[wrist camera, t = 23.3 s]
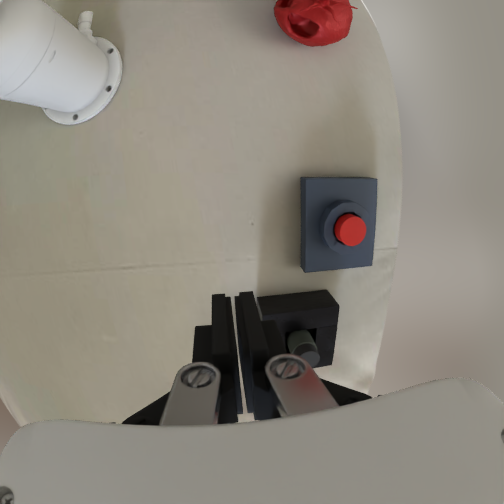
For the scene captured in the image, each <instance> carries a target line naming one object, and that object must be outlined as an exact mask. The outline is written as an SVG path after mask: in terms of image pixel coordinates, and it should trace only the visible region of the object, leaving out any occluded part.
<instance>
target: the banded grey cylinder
mask: <svg viewBox="0 0 504 504" xmlns="http://www.w3.org/2000/svg"><path fill="white" fill-rule="evenodd" d="M286 339H287V345H288V348H289V350H290V353H291V354H295V355H298V356H301V357H303V358H304V359H305V360H306V361H307V362H308V363H309V364H310V366H311V367H312V368H313V367H314V366H316V365H317V364H318V362H319V360H320V356H319V354H318V352H317V346H316V344H315V342H314V341H313V339H312V337H311V335H310V333H309V332H308V331H307V330H299V331H291V332H286Z"/></svg>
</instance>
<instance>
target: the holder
mask: <svg viewBox="0 0 504 504" xmlns="http://www.w3.org/2000/svg"><path fill="white" fill-rule="evenodd" d="M257 309H258V313H259V316H260V320H261V321H263V320H273V319H274V320H275V321H276V323H277V326H278V329H279V331H280V334H281V337H282V340H283V342H284V345H285V348H286V351H287V353H288V354H291V353H290V350H289V348H288V345H287V339H286V332H291V331H299V330H307V331H308V332H309V333H310V335H311V337H312V339H313V341H314V342H315V344H316V346H317V352H318V354H319V356H320V360H319V362H318V364H317V365H316V366H314V367H313V368H317V367H323V366H328V365H332V361H333V354H334V347H335V340H336V332H337V324H338V315H339V304H338V303H337V302H336V301H335V299H334V298H333V297H332V296H331V294H330V293H329V292H328V291H327V290H320V291H311V292H302V293H293V294H283V295H273V296H263V297H257Z"/></svg>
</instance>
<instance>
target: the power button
mask: <svg viewBox="0 0 504 504" xmlns="http://www.w3.org/2000/svg"><path fill="white" fill-rule="evenodd" d="M334 231H335V235H336V237H337V238H338V239H339V240H340V241H341V242H343V243H344V244H346V245H348V246H355V245H358V244H359V243H361V242H362V240H363V239H364V237H365V235H366V225H365V223H364V221H363V220H362V219H361V218H359V217H357V216H355V215H352V214H345V215H342V216H341V217H340V218H339V219H338V220H337V221H336V224H335V228H334Z"/></svg>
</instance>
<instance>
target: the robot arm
mask: <svg viewBox="0 0 504 504" xmlns="http://www.w3.org/2000/svg"><path fill="white" fill-rule="evenodd" d="M92 17H93V12H91V11H84V12H82V13H80V15H79V20H78V29H76V28H75V27H74V26H73V25H72V24H71V23H69V22H68V21H67V20H66V19H65V18H63V17H62V16H61V15H60V14H59V13H57V12H56V11H55V10H54V9H52V8H51V7H50V6H49V5H47V4H46V3H45V2H43V1H42V0H0V99H3V100H8V101H14V102H19V103H24V104H29V105H34V106H39V107H42V109H43V111H44V112H45V114H46V115H47V116H48V117H49V118H50V119H51V120H53V121H55V122H57V123H60V124H66V125H73V124H78V123H82V122H84V121H87V120H89V119H90V118H92V117H94V116H95V115H97V114H98V113H99V112H100V111H101V110H103V109H104V107H105V106H106V105H107V104H108V103H109V102H110V100H111V99H112V97H113V96H114V94H115V92H116V90H117V88H118V86H119V83H120V80H121V77H122V69H123V68H122V59H121V55H120V53H119V51H118V50H117V48H116V47H115V46H114V45H113V44H112V43H111V42H110V41H108V40H107V39H104V38H102V37H95V36H92V30H91V29H90V26H91V23H92ZM111 52H112V53H111ZM111 88H112V89H111ZM110 89H111V91H110V92H109V90H110ZM77 117H78V119H77ZM235 310H236V323H237V335H238V347H239V356H240V364H241V371H242V378H243V385H244V391H245V398H246V405H247V411H248V413H253V414H254V419H255V420H260V421H252V422H242V423H236V422H238V416H237V414H243V407H242V397H241V387H240V377H239V366H238V355H237V346H236V339H235V331H234V322H233V314H232V306H231V297H225V294H214V295H212V325H205V326H196V327H195V335H194V346H193V359H192V363H190V364H187V365H185V366H183V367H182V368H181V369H180V370H179V371H178V373H177V374H176V377H175V380H174V382H173V385H172V388H171V391H170V392H168V393H167V394H165V395H164V396H162V397H161V398H159V399H158V400H156V401H154V402H153V403H151V404H150V405H148V406H147V407H145V408H143V409H142V410H140V411H138V412H137V413H135V414H134V415H132V416H130V417H129V418H127V419H126V420H125V421H123V423H122V424H116V423H115V422H112V423H102V422H90V421H80V420H63V419H60V420H45V421H38V422H34V423H30V424H27V425H24V426H23V427H21V428H20V429H18V430H17V431H16V432H15V433H14V434H13V436H12V437H11V438H10V440H9V441H8V443H7V445H6V446H5V448H4V449H3V451H2V453H1V455H0V504H504V403H503V402H502V401H501V400H500V399H499V398H498V397H497V396H496V395H494V394H493V393H492V392H491V391H490V390H489V389H488V388H486V387H485V386H483V385H482V384H481V383H479V382H477V381H475V380H472V379H467V378H445V379H440V380H434V381H430V382H425V383H422V384H418V385H415V386H412V387H409V388H405V389H402V390H399V391H395V392H392V393H389V394H385V395H378V396H377V397H375V398H372V397H371V396H368V395H366V394H364V393H361V392H358V391H355V390H352V389H349V388H346V387H343V386H340V385H337V384H335V383H332V382H329V381H326V380H323V379H321V378H319V377H318V376H317V374H316V373H315V371H314V370H313V368H312V367H311V366H310V364H309V363H308V362H307V361H306V360H305V359H304V358H303V357H301V356H298V355H295V354H288V353H287V351H286V348H285V345H284V342H283V340H282V337H281V334H280V331H279V329H278V326H277V323H276V321H275V320H274V319H273V320H263V321H261V320H260V316H259V313H258V309H257V306H256V302H255V298H254V295H253V291H251V292H239V296H235Z"/></svg>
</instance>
